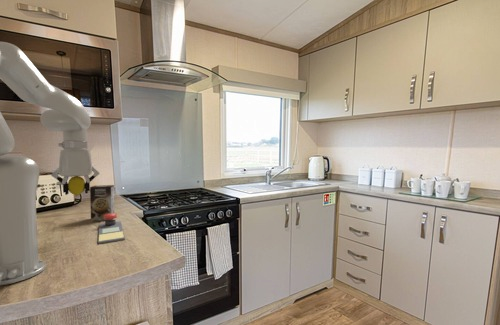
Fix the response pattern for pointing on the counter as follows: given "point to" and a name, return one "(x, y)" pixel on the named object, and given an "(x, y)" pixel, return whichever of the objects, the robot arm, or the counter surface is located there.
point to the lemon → (76, 185)
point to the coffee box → (101, 201)
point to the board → (110, 231)
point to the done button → (110, 216)
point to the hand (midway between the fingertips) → (76, 193)
